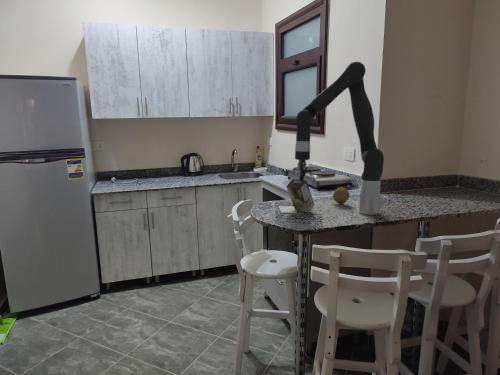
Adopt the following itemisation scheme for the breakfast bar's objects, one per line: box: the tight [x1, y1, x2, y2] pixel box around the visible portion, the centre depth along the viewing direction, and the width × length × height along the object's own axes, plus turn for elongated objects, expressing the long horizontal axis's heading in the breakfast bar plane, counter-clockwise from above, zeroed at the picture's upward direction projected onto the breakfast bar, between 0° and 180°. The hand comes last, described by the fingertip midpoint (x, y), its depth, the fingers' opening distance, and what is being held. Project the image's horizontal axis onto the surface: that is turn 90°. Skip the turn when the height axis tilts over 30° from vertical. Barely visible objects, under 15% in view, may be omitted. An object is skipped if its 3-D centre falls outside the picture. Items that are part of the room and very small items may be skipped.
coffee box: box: [285, 178, 315, 213], centre depth 183 cm, size 9×6×16 cm
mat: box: [278, 205, 298, 214], centre depth 187 cm, size 8×12×1 cm, turn 3°
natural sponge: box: [332, 186, 350, 205], centre depth 199 cm, size 9×9×10 cm
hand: (301, 183), depth 185 cm, fingers closed
